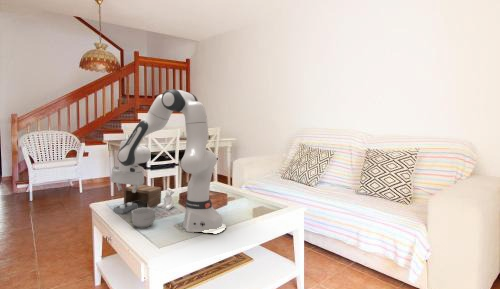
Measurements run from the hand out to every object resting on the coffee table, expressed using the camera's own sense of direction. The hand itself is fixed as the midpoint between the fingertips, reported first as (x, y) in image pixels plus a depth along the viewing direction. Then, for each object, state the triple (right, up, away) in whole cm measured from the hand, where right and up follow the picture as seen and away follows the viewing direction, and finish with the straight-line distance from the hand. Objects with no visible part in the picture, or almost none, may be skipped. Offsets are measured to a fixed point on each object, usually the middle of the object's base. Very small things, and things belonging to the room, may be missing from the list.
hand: (127, 191), depth 164 cm
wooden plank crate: (+3, -10, +15) cm, 19 cm away
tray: (-1, -11, +1) cm, 11 cm away
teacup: (+17, -14, -19) cm, 29 cm away
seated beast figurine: (+20, -12, +11) cm, 26 cm away
